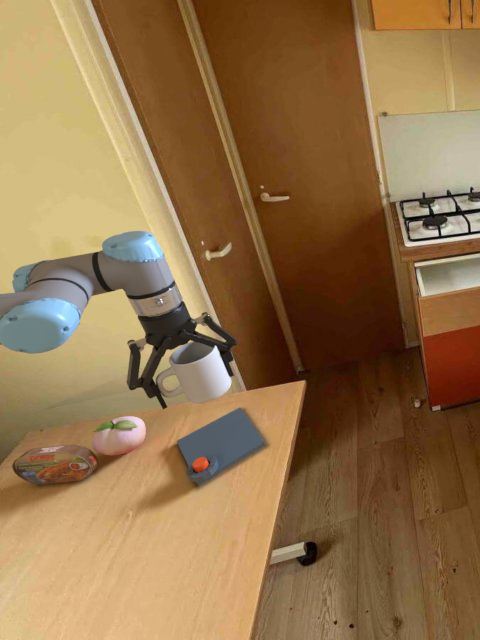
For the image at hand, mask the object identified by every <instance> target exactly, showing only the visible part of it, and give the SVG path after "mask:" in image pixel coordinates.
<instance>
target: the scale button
mask: <svg viewBox="0 0 480 640" xmlns="http://www.w3.org/2000/svg"><path fill="white" fill-rule="evenodd" d="M192 466H193V468H194V470H195V472H198V473H199V472H202V471H204V470H206V469H207V468H208V466H209V463H208V461H207V459H206V458H205V457H200V458H198V459H196V460H195V461H194V462H193V464H192Z"/></svg>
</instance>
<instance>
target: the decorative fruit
mask: <svg viewBox="0 0 480 640" xmlns="http://www.w3.org/2000/svg"><path fill="white" fill-rule="evenodd" d="M92 432H93V433H95V434H94V436H93V439H92V447H93V450H94V451H95V452H96V453H98V454H101V455H105V456H106V455H107V456H119V455H122V454H129V453H132V451H135V450H136V449H137V448H139V447H140V446H141V445H142V444H143V442H144V441H145V439H146V436H147V427H146V424H145V422H144V420H143V419H141V418H140V417H137V416H133V415H125V416H120V417H116V418H114V419H112V420H110V421H106V422H103V423H101V424H99V425H98V426H96V427H95V428H94V429H93V431H92Z"/></svg>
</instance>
